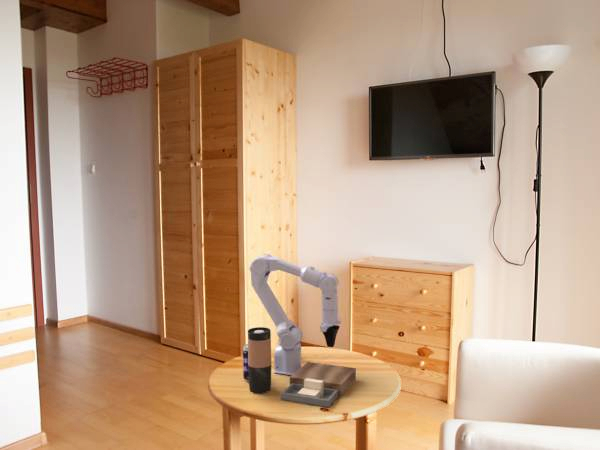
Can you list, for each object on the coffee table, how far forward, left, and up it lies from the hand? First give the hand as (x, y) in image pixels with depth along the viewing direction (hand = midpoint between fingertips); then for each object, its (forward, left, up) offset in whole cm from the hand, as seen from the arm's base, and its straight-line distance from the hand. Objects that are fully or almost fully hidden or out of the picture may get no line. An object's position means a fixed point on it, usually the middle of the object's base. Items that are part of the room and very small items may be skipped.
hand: (330, 346), depth 181 cm
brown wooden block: (+1, -9, -10) cm, 14 cm away
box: (+1, -22, -10) cm, 24 cm away
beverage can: (-24, -14, -11) cm, 30 cm away
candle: (-22, +10, -11) cm, 27 cm away
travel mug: (-17, -21, -11) cm, 29 cm away
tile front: (+1, -23, -8) cm, 24 cm away
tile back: (+1, -18, -8) cm, 20 cm away
